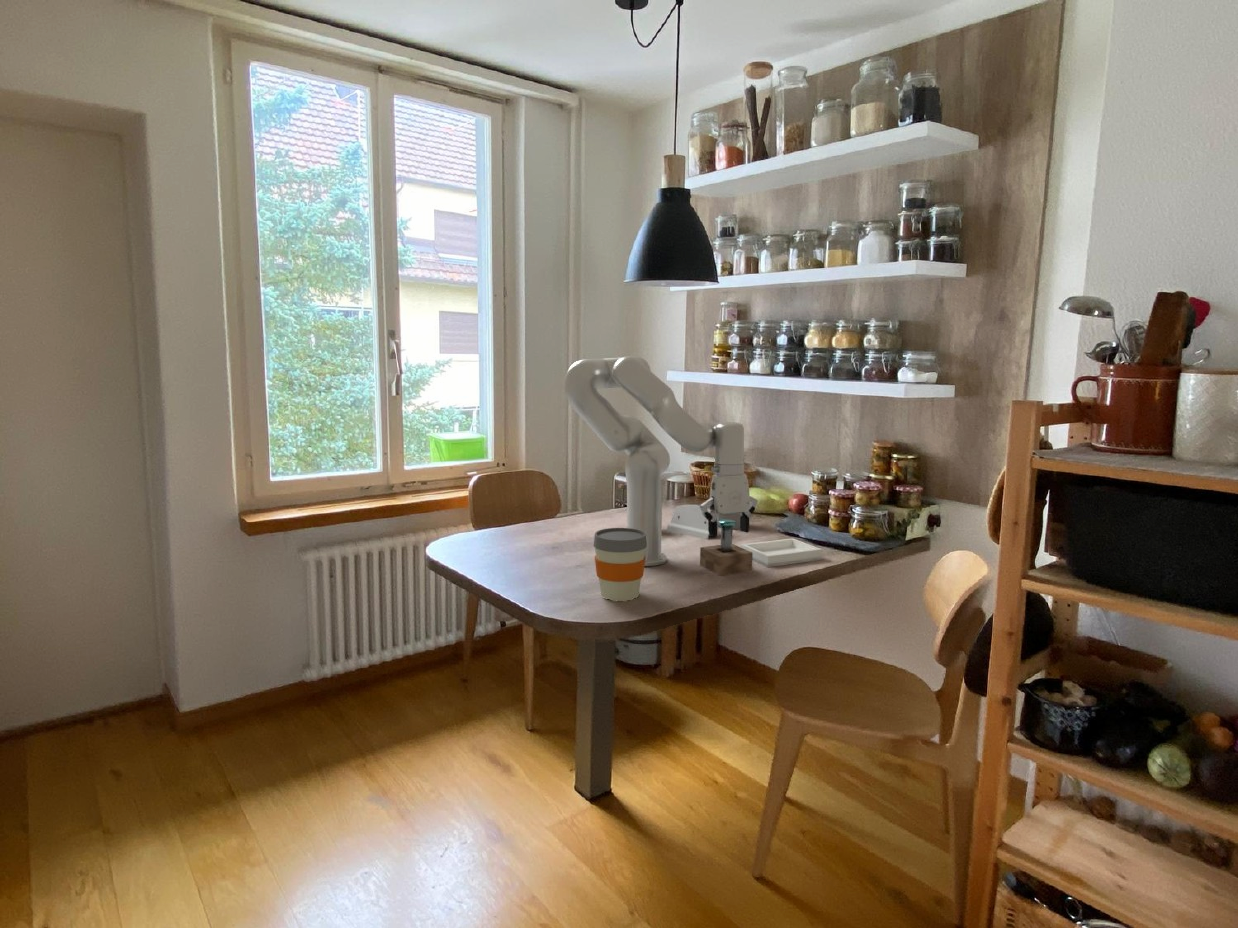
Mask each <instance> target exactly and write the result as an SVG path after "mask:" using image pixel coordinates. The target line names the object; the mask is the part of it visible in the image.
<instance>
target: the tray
mask: <svg viewBox="0 0 1238 928" xmlns="http://www.w3.org/2000/svg"><path fill="white" fill-rule="evenodd" d="M740 547H741V548H743V549H745V550H747V551H750V552H752V553H753V555H752V562H753V561H754V562H755V563H758V564H760V565H762V566H765V567H767V568H770V567H771V568H772V567H777V566H786V565H792V564H800V563H808V562H814V561H815V562H816V561H821V560H822V555H823V553H822V552H823V551H822V548H819V547H817V546H814V545H812V544H809V543H806V542H803V541H801V540H798V539H796V538H784V539H777V540H776V539H775V540H766V541H760V542H759V541H758V542H749V543H741V544H740Z"/></svg>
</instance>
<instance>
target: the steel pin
mask: <svg viewBox="0 0 1238 928" xmlns="http://www.w3.org/2000/svg"><path fill="white" fill-rule="evenodd" d="M718 525H720V526H721V528H720V545H721V549H720V552H722V553H727V552H732V544H733V530H734V529H733V526H735V525H736V521H734V520H719V521H718Z"/></svg>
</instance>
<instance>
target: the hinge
mask: <svg viewBox="0 0 1238 928" xmlns="http://www.w3.org/2000/svg"><path fill="white" fill-rule="evenodd" d="M699 506H700V505H697V504H682V505H678V506H675V507H674V511H673V514H672V517H671V520H670V522H669V524H667V526H666V531H667V532H671V533H674V534H675V533H676V534H680V535H684V536H685V535H686V536H690V537H694V538H698V539H703V540H709V538H710V537H712V536H711V535H710V534H709V531H708V520H707V519H706V518H705V517H704V516H703V514H702V512H701V509H700V507H699ZM707 510H708V512H709V513H710V511H711V510H710V508H709V507H708V508H707ZM718 521H719V516H718V518H717V519H716V522H717V531H718V528H719V527H718ZM709 536H710V537H709Z"/></svg>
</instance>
